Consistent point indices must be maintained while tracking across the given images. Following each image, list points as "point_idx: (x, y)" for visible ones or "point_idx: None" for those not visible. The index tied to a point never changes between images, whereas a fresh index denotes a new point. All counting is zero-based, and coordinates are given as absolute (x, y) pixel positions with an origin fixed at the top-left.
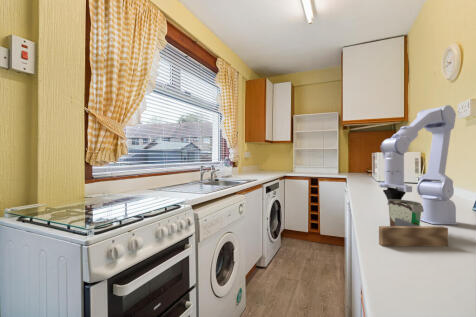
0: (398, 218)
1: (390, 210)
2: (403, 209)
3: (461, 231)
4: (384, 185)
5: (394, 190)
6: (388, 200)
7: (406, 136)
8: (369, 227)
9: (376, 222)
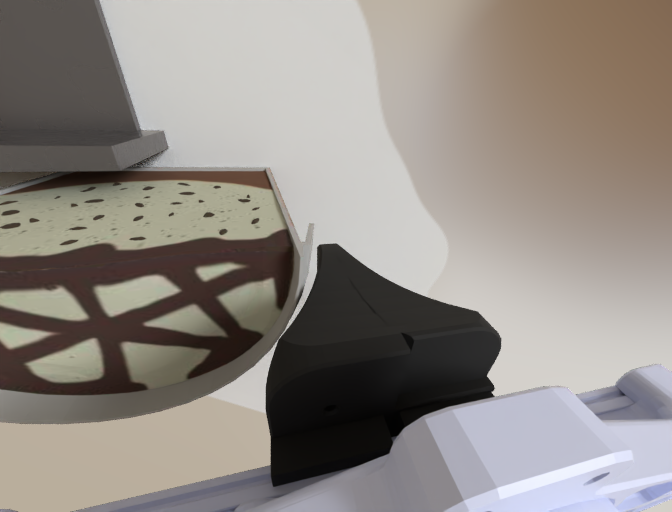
0: (77, 160)
1: (269, 208)
2: (17, 237)
3: (262, 395)
4: (432, 437)
5: (309, 427)
6: (300, 247)
7: None
8: (287, 22)
9: (399, 168)
